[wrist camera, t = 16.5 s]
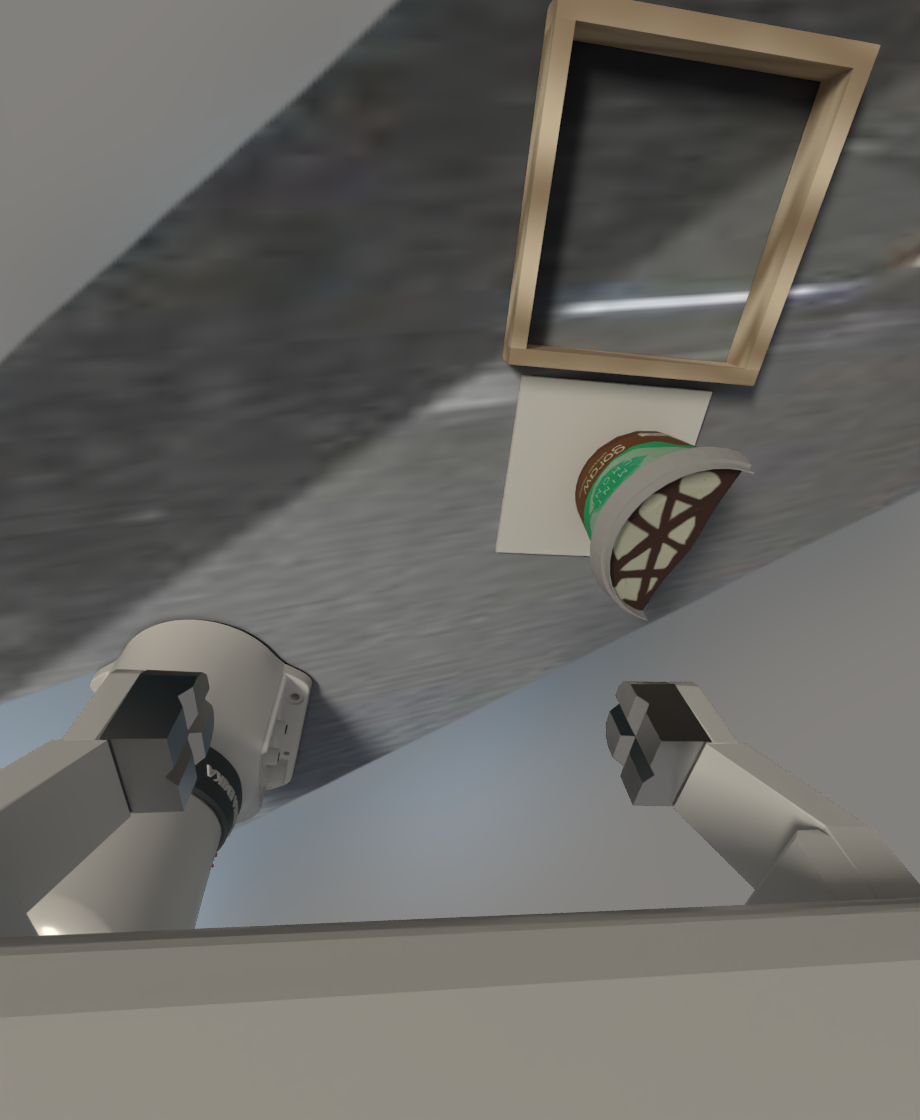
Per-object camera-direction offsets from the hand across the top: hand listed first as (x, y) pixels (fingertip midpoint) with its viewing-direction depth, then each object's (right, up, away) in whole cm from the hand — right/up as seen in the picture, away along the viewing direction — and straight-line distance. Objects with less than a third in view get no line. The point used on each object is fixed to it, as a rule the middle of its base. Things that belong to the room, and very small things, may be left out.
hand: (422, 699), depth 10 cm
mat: (+11, +9, +30) cm, 33 cm away
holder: (+13, +24, +22) cm, 34 cm away
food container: (+12, +9, +30) cm, 33 cm away
